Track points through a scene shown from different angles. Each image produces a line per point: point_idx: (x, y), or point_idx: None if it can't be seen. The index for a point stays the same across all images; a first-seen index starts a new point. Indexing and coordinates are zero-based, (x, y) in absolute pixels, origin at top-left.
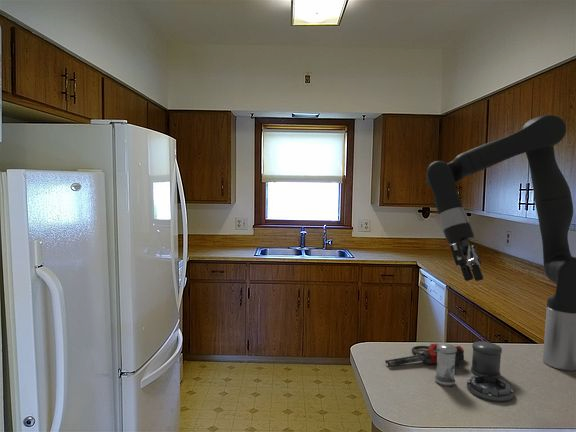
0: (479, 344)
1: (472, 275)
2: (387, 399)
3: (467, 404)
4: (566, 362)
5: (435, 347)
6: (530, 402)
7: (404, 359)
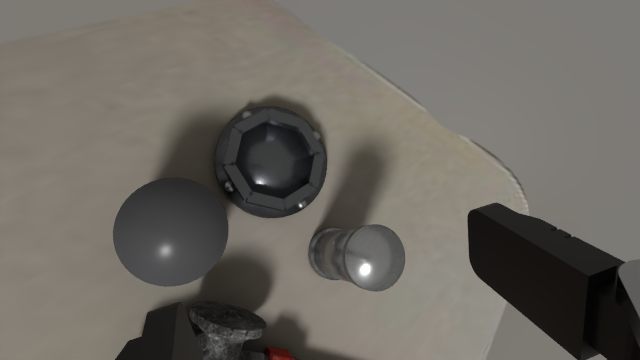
0: (182, 258)
1: (501, 215)
2: None
3: (370, 156)
4: None
5: None
6: (233, 78)
7: None
